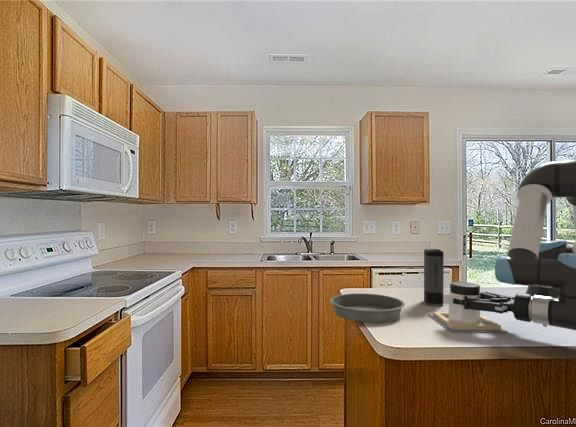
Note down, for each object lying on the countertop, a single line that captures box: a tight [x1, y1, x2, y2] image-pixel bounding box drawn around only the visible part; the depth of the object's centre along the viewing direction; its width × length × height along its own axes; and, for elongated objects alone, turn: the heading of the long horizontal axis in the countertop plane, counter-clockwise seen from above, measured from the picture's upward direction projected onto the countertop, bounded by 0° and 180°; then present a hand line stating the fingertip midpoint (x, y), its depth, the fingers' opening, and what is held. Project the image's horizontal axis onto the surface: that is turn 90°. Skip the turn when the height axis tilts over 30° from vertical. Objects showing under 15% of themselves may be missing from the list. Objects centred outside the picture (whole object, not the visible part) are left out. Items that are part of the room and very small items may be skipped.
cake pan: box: [329, 293, 406, 323], centre depth 129 cm, size 25×25×4 cm
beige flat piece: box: [428, 311, 509, 334], centre depth 118 cm, size 16×18×2 cm
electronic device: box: [423, 248, 445, 307], centre depth 145 cm, size 9×6×20 cm, turn 168°
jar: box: [448, 281, 481, 324], centre depth 116 cm, size 9×8×12 cm
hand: (451, 295), depth 121 cm, fingers open, 10 cm apart
